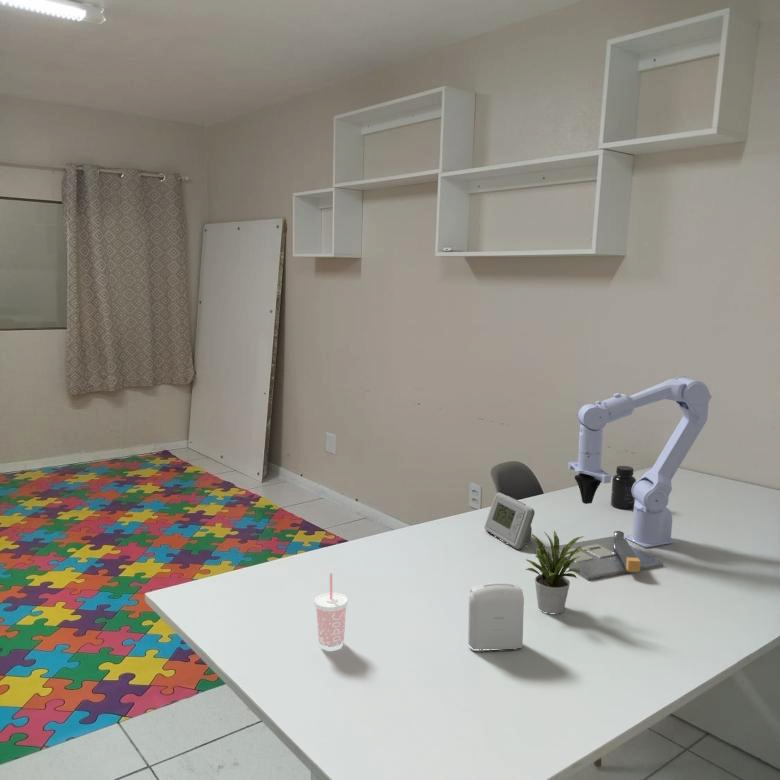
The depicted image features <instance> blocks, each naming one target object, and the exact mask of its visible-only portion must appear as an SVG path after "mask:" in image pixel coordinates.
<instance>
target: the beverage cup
mask: <svg viewBox="0 0 780 780" xmlns="http://www.w3.org/2000/svg"><path fill="white" fill-rule="evenodd" d="M314 606H315V608H316V622H317V635H318V644H319V643H320V644H321V645H324V646H328V647H334V646H338V645H340V644H342V643H343V642H344V643H345V628H346V612H347V606H348V597H347V596H346V595H345V594H342V593H340V592H333V573H329V592H325V593H321V594H319V595H317V596H316V597H315V598H314Z"/></svg>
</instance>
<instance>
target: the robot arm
mask: <svg viewBox="0 0 780 780" xmlns="http://www.w3.org/2000/svg"><path fill="white" fill-rule="evenodd" d="M612 396H613V397H609V398H607V399H604V400H602V401H601V400H596V401H595V404H592V403H588V404H587V403H586V404H584V405H582V406H581V408H580V409H579V410H578V413H577V414H576V417H577V418H576V419H577V421H578V422H579V423H580V425H579V435H578V452H577V453H578V454H577V461H575V460H574V461H568V463H567V465H568V466H567V469H568V470H573V471H574V472H575V473H577V475H576V474H575V475H574V479H575V481H576V484H577V486H578V488H579V493H580V497H581V502H582V503H583V504H584V505H587V504H592V503H593V500H594V498H595V495H596V492H597V490H598V487H600V485H601V484H610V483H611V484H612V481H611V480H612V475H611V474H609V473H607V472H606V471H605V470H603V469H602V453H603V452H602V451H603V450H602V449H603V432H604V431H603V430H604V428H605V427H606V425H607V424H609V423H613V422H615V421H617V420H620V419H623V418H626V417H630V416H631V415H632V414H633V413H634V411H635V409H637V408H640V407H643V406H647V405H650V404H653V403H657V402H659V401H663V400H668V401H673V402H676V404H677V405H678V408H679V410H680V412H681V416H682V417H681V419H680V421H679V422H678V424H677V426H676V428H675V429H674V430H673V432H672V434H671V436H670V437H669V439H668V441H667V443H666V444H665V446H664V447H663V449H662V451H661V452H660V454H659V456H658V458H657V459H656V461H655V462H654V465H653V466H652V467H651V469H649V470H647V471H645V472H644V473H643V474H642V476H641V477H640V478H639V479H637V480H636V482H635V483H634V484H633V486H632V490H631V492H632V495H633V497H634V498H635V504H634V507H633V516H632V532H631V534H627V535H624V539H626V540H627V541H628V540H629V541H630V542H633V543H635V544H637V545H639V546H641V547H643V548H645V549H646V548H647V549H648V548H652V547H658V546H662V545H668V544H672V543H674V541H673V540H672V528H673V516H672V515H673V514H672V513H671V511H670V509H669V508H668V507H667V506H668V504H669V496H670V494H671V492H672V479H673V477H674V476H675V474H676V473H677V471H678V469H679V468H680V466H681V464H682V463H683V461H684V460H685V457H686V455H688V453H689V452H690V450H691V448H692V446H693V444H694V442H696V439H697V438H698V436H699V434H700V433H701V432H702V430H703V428H704V426H705V425H706V423H707V421H708V415H709V414H708V413H709V402H710V400H711V399H712V395H711V393H710V390H709V388H708V386H707V385H706V384H705V383H704V382H702V381H699V380H694V379H692V378H689V377H687V376H683V375H682V376H681V375H680V376H677V377H674V378H669V379H667V380H665V381H663V382H661V383H658V384H655V385H653V386H651V387H649V388H646V389H644V390H641V391H638V392H636V393H635V394H632V395H628V394H625V393H621V394H620V393H619V392H616V393H613V395H612Z"/></svg>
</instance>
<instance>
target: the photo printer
mask: <svg viewBox="0 0 780 780" xmlns="http://www.w3.org/2000/svg"><path fill="white" fill-rule="evenodd" d="M469 591H470V592H469V597H468V631H467V632H468V633H467V634H468V638H467V639H468V643H467V644H469V645H470V646H471V647H472V648H473V649H479V650H480V649H481V650H483V649H490V650H491V649H514V650H516V649H515V648H521V649H522V647H523V644H524V642H523V640H524V639H523V638H524V611H525V610H524V604H525V602H524V601H525V596H524V592H523V589H522V588H521V586H520V585H518V584H513V583H507V582H491V583H490V582H489V583H484V584H479V585H477V586H474V587H472V588H470V590H469Z"/></svg>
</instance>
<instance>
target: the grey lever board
mask: <svg viewBox="0 0 780 780" xmlns="http://www.w3.org/2000/svg"><path fill="white" fill-rule="evenodd" d="M616 539H625V532H624V531H621V530H615V531H613V536H608V537H607V536H606V537H602V538H595V539H590V540H583V541H576V542H575V543H574V544H573V545H572V546H571V547H570V549H569V550H568V552H569V551H571V552H569V553H568V554H567V555H566V556H565V557H567V556H570V554H571V553H572V552H573V551H574V550H575V549H576V548H578V547H580V546H584V547H582V548H580V549H579V550H582V549H587V550H591V551H581V552H578V553H576V554H574V555H573V556H572V557H571V559H573V558H575V557H579V558H577V559H575V560H574V561H573V562H572V563H571V564H570V565H569V567H568V568H569V569H568V568H567V569H568V570H570V569H573V568H577V569H579V570H580V574H579V573H578V572H574V574H577V575H578V576H580V577H581V578H583V579H584V580H586V581H593V580H597V579H602V578H607V577H608V578H609V577H613V576H619V575H623V574H627V573H630V572H628V571H627V569H626V567H625V565H624V563H623V561H622V560H621V558H620V556H619V554H618V553H617V551H616V549H615V540H616ZM567 544H568V543H565V544H559V558H560V555H561V552H562V550H563V548H564V547H566V546H567ZM630 547H631V548H632V550H633V552H634V553H635V555H636V556H637V558H639V560H640V571H643V570H648V569H649V570H650V569H653V568H658V567H662V566H663V565H664V564H663V561H662V560H660V559H658V558H656V557H654V556H652V555H650V554H647V553H646V552H644V551H642V550H640V549H638V548H636V547H634V546H632V545H630ZM544 548H545V550H548V552H549V557H551V558H552V549H551V546H547V547H544ZM580 556H581V557H580ZM565 557H564V558H565ZM567 559H568V558H567ZM571 559H570V560H571Z"/></svg>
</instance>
